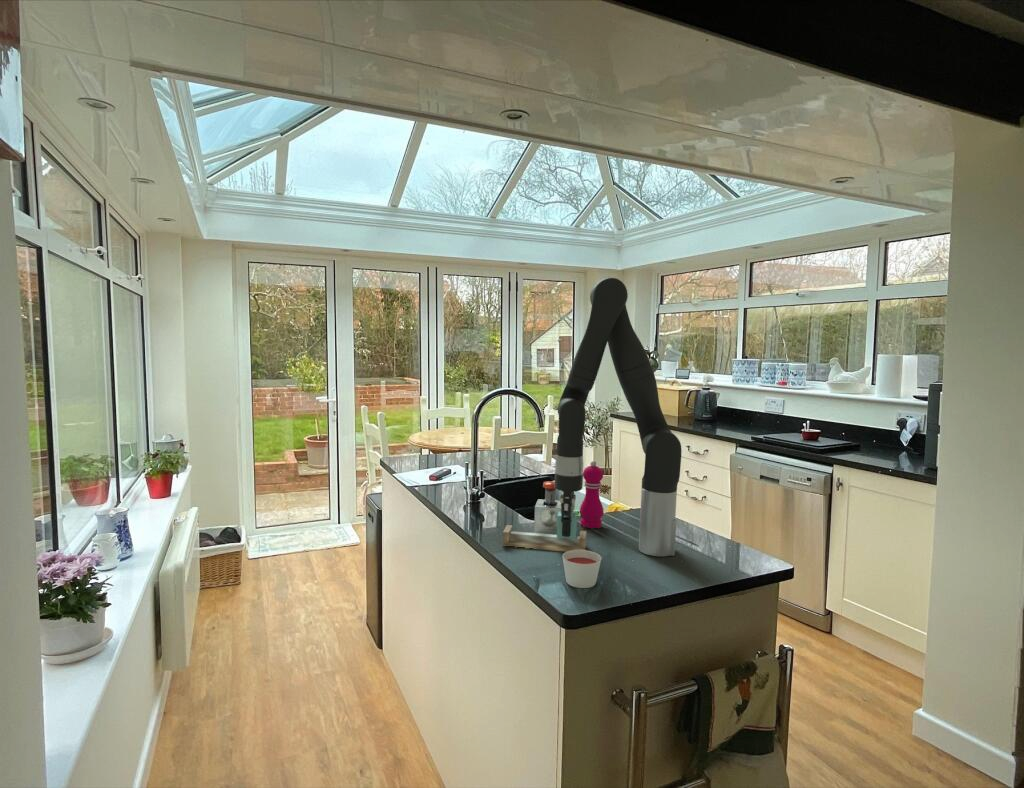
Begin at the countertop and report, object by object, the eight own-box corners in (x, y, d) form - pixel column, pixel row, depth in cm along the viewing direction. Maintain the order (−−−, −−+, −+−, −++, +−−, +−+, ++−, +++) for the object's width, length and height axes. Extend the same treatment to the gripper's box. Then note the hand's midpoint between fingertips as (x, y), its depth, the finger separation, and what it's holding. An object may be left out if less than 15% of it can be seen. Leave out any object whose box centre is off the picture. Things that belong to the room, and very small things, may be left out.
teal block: (576, 534, 165) (577, 512, 165) (575, 539, 161) (576, 517, 161) (558, 532, 166) (558, 511, 165) (556, 537, 162) (557, 515, 161)
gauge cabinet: (563, 526, 181) (564, 500, 180) (561, 536, 173) (562, 509, 172) (537, 524, 182) (538, 499, 181) (533, 534, 174) (534, 507, 173)
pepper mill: (602, 530, 178) (605, 464, 176) (577, 528, 180) (580, 462, 178) (603, 523, 186) (606, 459, 183) (580, 521, 187) (582, 457, 185)
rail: (585, 545, 166) (586, 531, 166) (584, 553, 160) (585, 538, 160) (506, 538, 170) (506, 524, 169) (502, 546, 164) (502, 532, 163)
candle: (608, 583, 142) (609, 557, 141) (583, 594, 135) (584, 567, 135) (578, 571, 148) (579, 546, 147) (553, 582, 142) (554, 556, 141)
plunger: (557, 512, 179) (558, 481, 178) (556, 516, 175) (557, 485, 174) (543, 510, 180) (544, 480, 179) (541, 515, 175) (542, 484, 174)
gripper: (581, 478, 154) (579, 543, 156) (584, 466, 168) (581, 526, 170) (552, 476, 155) (550, 541, 157) (557, 464, 169) (555, 524, 171)
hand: (566, 533), depth 164 cm, fingers closed on teal block, 4 cm apart
